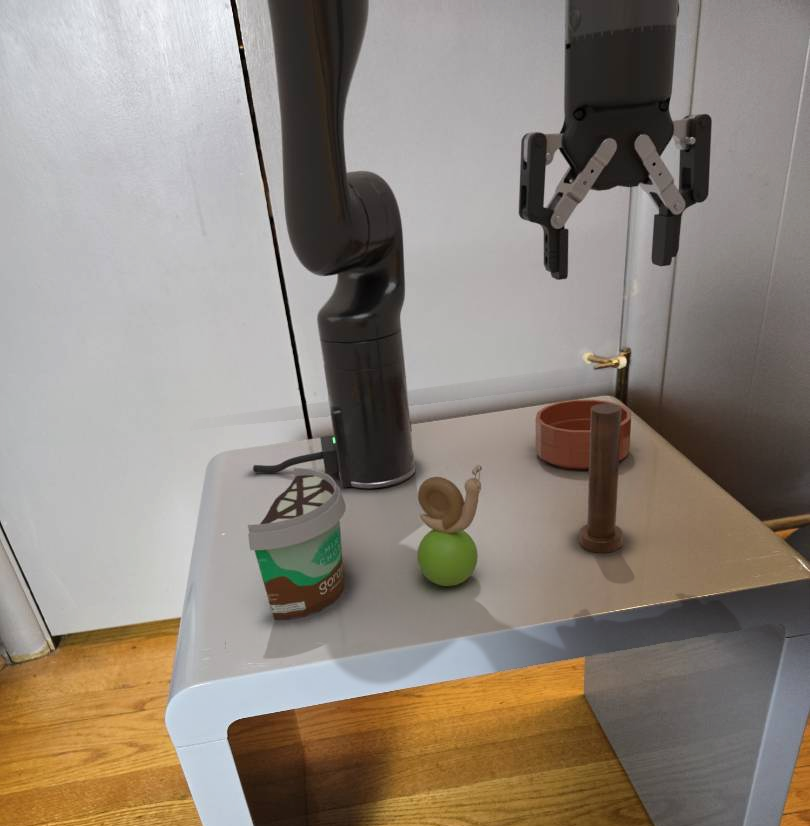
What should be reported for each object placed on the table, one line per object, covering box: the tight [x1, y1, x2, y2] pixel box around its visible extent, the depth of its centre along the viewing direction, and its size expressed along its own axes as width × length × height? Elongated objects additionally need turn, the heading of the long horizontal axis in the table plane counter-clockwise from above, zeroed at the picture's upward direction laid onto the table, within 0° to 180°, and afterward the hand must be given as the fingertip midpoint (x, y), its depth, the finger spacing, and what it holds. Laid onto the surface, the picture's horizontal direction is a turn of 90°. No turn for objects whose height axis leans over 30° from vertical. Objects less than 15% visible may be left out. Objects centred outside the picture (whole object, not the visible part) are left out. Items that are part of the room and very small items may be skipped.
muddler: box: [579, 403, 624, 554], centre depth 68 cm, size 4×4×14 cm
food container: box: [247, 467, 347, 620], centre depth 66 cm, size 12×6×10 cm, turn 168°
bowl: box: [535, 399, 632, 470], centre depth 89 cm, size 11×11×5 cm
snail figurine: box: [416, 464, 483, 587], centre depth 65 cm, size 5×6×12 cm
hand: (610, 271), depth 59 cm, fingers open, 8 cm apart
